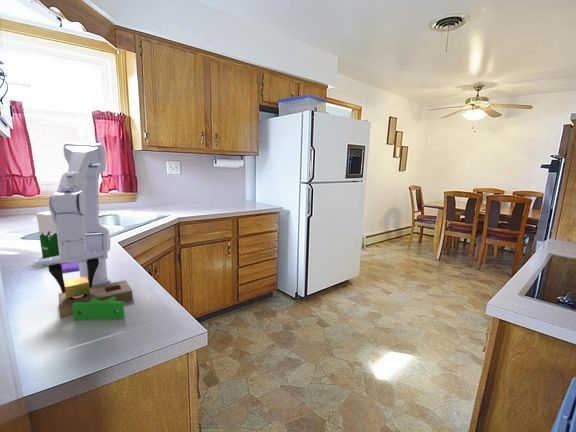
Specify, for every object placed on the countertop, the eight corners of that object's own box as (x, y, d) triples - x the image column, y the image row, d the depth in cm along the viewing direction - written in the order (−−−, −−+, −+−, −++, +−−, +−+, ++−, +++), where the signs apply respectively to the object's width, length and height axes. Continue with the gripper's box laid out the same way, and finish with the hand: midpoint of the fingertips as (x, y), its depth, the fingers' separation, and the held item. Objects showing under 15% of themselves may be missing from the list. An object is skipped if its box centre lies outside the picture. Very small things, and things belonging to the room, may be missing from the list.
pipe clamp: (129, 312, 74) (128, 296, 73) (122, 320, 70) (121, 303, 69) (82, 313, 73) (81, 296, 72) (73, 321, 69) (71, 304, 68)
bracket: (61, 263, 108) (59, 246, 106) (83, 261, 111) (82, 244, 110) (57, 274, 98) (55, 255, 97) (82, 270, 101) (80, 252, 100)
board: (59, 304, 77) (58, 293, 76) (126, 289, 87) (125, 280, 86) (60, 318, 70) (58, 306, 69) (132, 300, 80) (132, 290, 79)
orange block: (66, 301, 76) (64, 280, 75) (89, 296, 79) (87, 276, 78) (67, 308, 72) (64, 287, 71) (91, 303, 75) (88, 282, 74)
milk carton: (76, 254, 118) (71, 206, 114) (50, 260, 109) (44, 209, 106) (63, 251, 121) (58, 205, 118) (38, 257, 113) (31, 207, 110)
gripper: (33, 247, 65) (40, 302, 67) (107, 238, 74) (111, 287, 77) (34, 240, 70) (41, 291, 73) (103, 233, 80) (107, 278, 82)
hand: (77, 288), depth 75 cm, fingers closed on orange block, 5 cm apart
